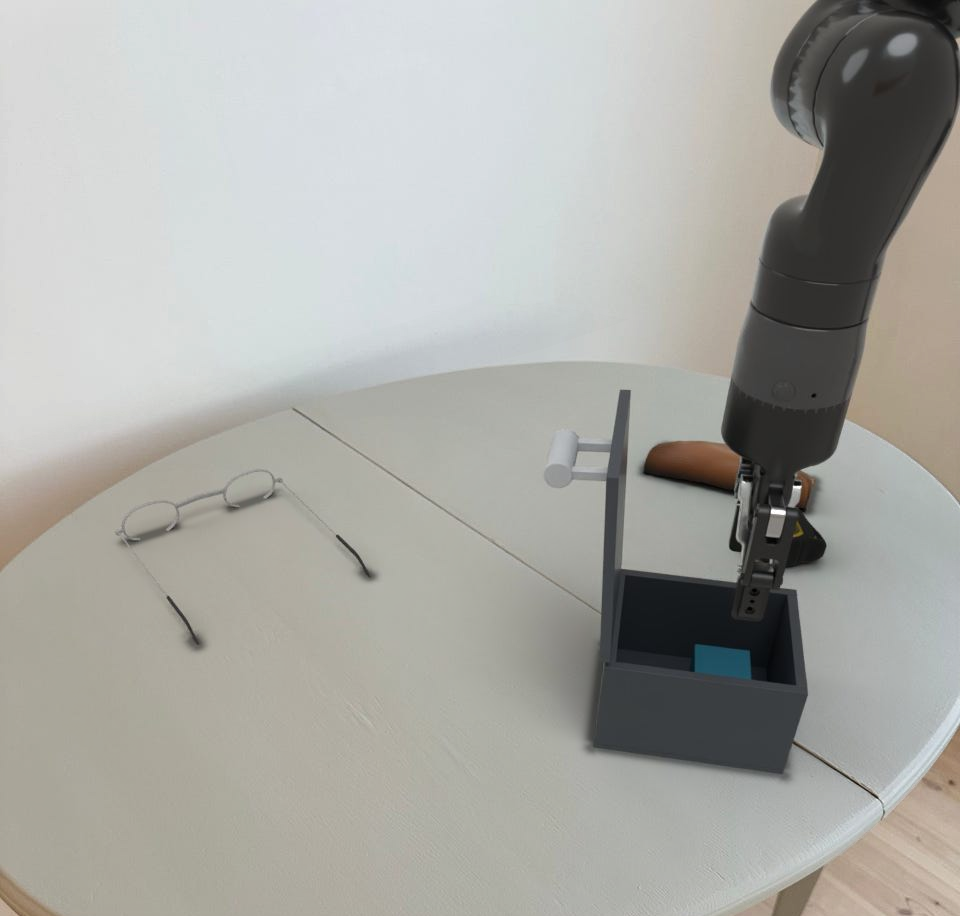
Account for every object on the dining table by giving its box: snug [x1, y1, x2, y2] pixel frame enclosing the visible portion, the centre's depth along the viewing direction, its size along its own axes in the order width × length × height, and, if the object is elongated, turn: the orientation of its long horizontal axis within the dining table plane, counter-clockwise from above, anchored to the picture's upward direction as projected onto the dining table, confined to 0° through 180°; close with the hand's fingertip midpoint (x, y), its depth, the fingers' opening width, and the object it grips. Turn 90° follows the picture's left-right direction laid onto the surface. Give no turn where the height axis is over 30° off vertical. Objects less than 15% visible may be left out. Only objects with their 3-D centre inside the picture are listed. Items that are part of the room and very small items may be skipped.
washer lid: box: [542, 389, 632, 663], centre depth 72 cm, size 15×13×5 cm
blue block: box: [689, 644, 751, 680], centre depth 80 cm, size 4×4×4 cm
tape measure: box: [758, 506, 827, 567], centre depth 98 cm, size 7×7×4 cm
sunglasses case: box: [643, 440, 816, 512], centre depth 109 cm, size 18×7×7 cm
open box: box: [592, 568, 809, 775], centre depth 79 cm, size 15×13×9 cm
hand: (743, 582), depth 73 cm, fingers open, 8 cm apart
